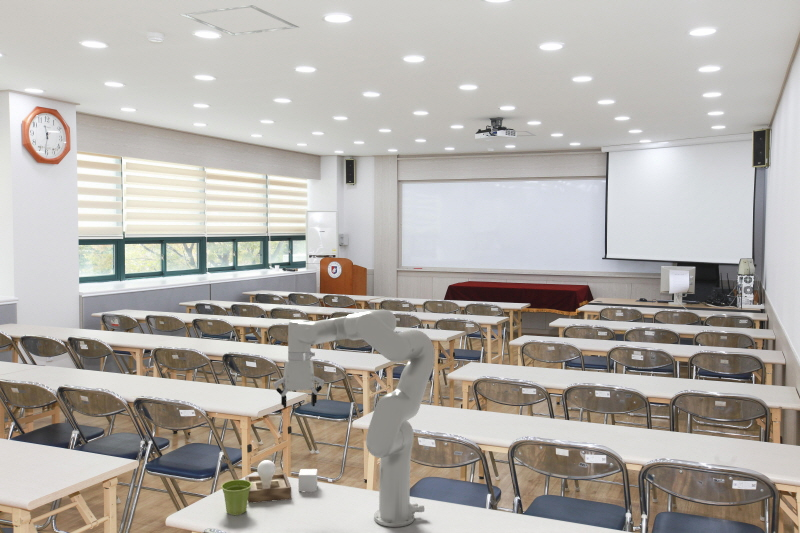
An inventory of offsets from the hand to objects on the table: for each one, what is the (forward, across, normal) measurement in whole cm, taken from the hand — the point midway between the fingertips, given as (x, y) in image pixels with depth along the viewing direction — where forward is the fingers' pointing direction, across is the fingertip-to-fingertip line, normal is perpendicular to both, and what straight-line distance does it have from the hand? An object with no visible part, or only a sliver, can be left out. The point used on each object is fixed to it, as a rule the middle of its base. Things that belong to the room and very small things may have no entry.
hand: (298, 406), depth 230 cm
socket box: (+30, +10, -3) cm, 32 cm away
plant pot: (+31, +21, +10) cm, 38 cm away
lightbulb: (+30, +10, -3) cm, 32 cm away
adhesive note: (+31, -4, -4) cm, 31 cm away
